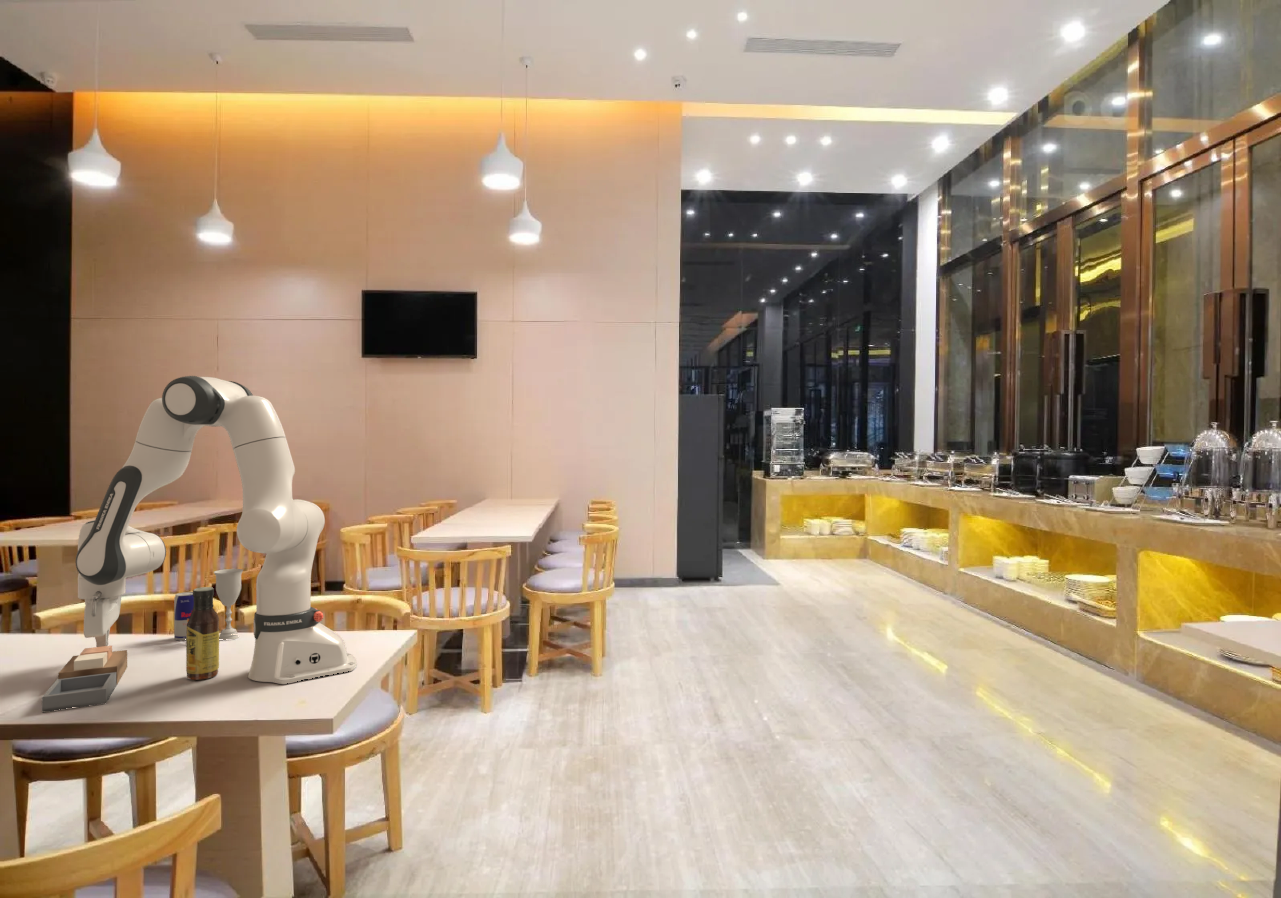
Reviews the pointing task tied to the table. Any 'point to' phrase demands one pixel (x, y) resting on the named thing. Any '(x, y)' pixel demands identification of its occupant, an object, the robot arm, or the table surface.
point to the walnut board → (112, 665)
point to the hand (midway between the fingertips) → (102, 648)
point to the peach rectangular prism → (98, 651)
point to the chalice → (228, 596)
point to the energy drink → (182, 614)
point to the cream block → (90, 661)
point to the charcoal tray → (79, 691)
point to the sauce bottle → (202, 637)
